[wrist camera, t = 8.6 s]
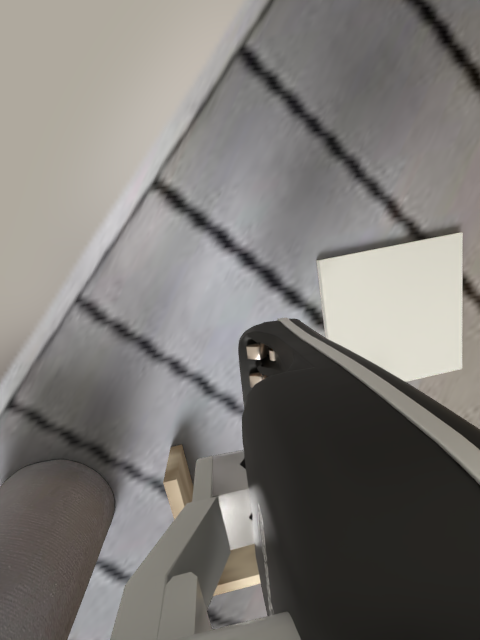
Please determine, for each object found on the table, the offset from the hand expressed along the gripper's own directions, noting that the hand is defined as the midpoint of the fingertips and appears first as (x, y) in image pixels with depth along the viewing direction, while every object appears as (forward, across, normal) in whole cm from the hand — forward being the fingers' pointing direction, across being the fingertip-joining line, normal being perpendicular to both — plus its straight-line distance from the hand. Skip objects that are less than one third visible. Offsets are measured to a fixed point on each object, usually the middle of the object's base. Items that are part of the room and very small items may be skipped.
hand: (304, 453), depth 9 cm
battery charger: (+6, 0, 0) cm, 6 cm away
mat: (+15, -12, +1) cm, 19 cm away
